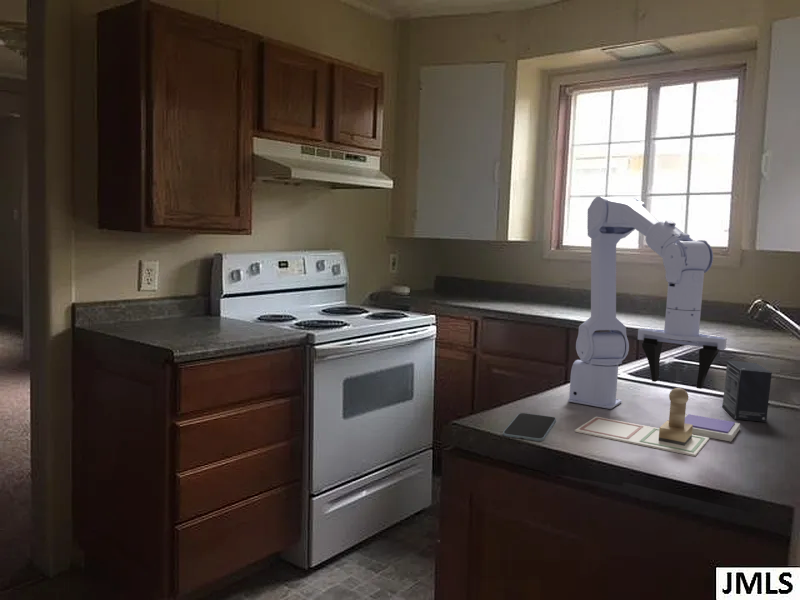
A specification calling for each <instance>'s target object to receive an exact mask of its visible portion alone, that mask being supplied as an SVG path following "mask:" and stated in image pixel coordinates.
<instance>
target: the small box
mask: <svg viewBox="0 0 800 600" xmlns="http://www.w3.org/2000/svg"><path fill="white" fill-rule="evenodd" d="M725 372H726V373H725V379H724V389H723V390H724V391H723V400H722V403H721V404H722V405H721V406H722V408H723V409H724V410H725V411H726V412H727V414H729V415H730V416H731V417H732V418H733V419H734V420H740V421H743V420H744V421H752V422H762V423H767V420H768V411H769V410H768V409H769V402H770V401H769V400H770V390H771V383H772V375H773V372H772V371H770V370H769V369H767V368H766V367H764V366H762V365H760V364H759V363H757V362H748V361H747V362H746V361H739V360H738V361H737V360H726V371H725Z"/></svg>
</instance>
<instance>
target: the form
mask: <svg viewBox="0 0 800 600" xmlns="http://www.w3.org/2000/svg"><path fill="white" fill-rule="evenodd" d="M659 428H660V427H654V426H649V425H643V424H638V423H633V422H628V421H622V420H618V419H611V418H607V417H601V416H594V417H593V418H591V419H590V420H588V421H587V422H585V423H583V424H582V425H580V426H579V427H577V428H576V429H574V433H580V434H585V435H588V436H593V437H594V436H595V437H599V438H603V439H609V440H613V441H618V442H622V443H628V444H634V445H638V446H643V447H647V448H654V449H657V450H661V451H662V450H663V451H667V452H672V453H677V454H681V455H688V456H692V457H696V456H697V455H698V454H699V452H700V451H701V450H702V449H703V448H704V447H705V445H706V444H707V442H708V441H709V440H710V438H709V437H704V436H698V435H693V434H692V438H691V439H690V440H689V441H688V442H687V444H686V445H685V446H683V445H678V444H673V443H668V442H663V441H659Z"/></svg>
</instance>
